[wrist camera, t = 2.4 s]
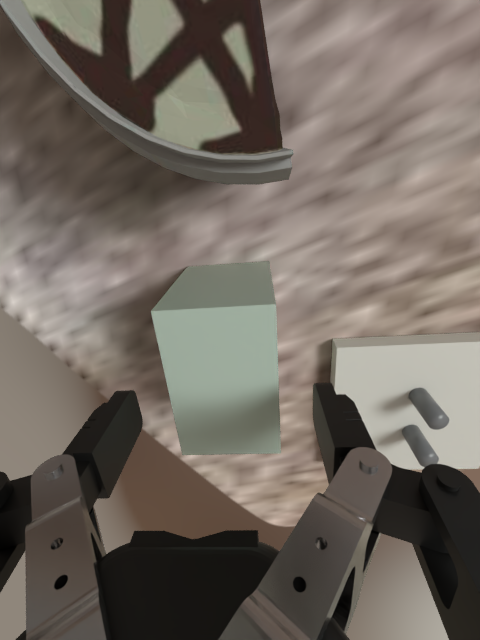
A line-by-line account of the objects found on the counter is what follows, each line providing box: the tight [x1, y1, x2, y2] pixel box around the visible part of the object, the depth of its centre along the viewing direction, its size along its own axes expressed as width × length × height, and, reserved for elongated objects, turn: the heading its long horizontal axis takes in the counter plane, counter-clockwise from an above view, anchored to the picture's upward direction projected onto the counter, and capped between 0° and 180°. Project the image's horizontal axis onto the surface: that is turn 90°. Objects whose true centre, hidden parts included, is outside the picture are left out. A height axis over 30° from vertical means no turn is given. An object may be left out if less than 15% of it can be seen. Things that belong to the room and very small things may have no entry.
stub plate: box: [330, 332, 480, 469], centre depth 20 cm, size 11×11×4 cm
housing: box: [151, 261, 281, 455], centre depth 17 cm, size 8×5×7 cm, turn 5°
